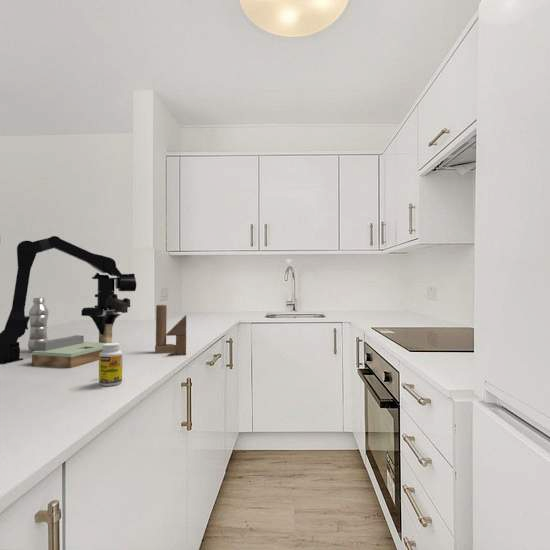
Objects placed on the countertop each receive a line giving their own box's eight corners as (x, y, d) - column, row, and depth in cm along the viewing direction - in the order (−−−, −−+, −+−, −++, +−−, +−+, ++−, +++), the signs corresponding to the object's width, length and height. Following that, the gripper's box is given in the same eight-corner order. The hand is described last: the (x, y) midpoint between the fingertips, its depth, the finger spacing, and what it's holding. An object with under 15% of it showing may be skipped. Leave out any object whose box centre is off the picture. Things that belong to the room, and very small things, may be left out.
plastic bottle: (43, 349, 149) (43, 297, 149) (51, 351, 145) (52, 298, 145) (24, 351, 144) (25, 298, 144) (32, 353, 140) (33, 298, 140)
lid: (32, 354, 116) (32, 343, 116) (80, 344, 135) (80, 334, 135) (71, 357, 113) (71, 345, 113) (115, 346, 132) (115, 336, 132)
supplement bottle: (96, 387, 96) (97, 346, 96) (101, 381, 101) (101, 342, 101) (120, 386, 97) (120, 345, 97) (123, 380, 102) (124, 341, 103)
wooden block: (186, 355, 139) (186, 305, 139) (154, 356, 136) (155, 305, 136) (185, 353, 142) (186, 304, 143) (155, 354, 140) (155, 304, 140)
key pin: (98, 349, 141) (99, 324, 141) (104, 347, 144) (104, 323, 144) (106, 349, 140) (106, 324, 140) (111, 348, 143) (112, 324, 144)
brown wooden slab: (31, 368, 116) (31, 355, 116) (80, 356, 135) (80, 344, 135) (71, 371, 113) (71, 357, 113) (114, 358, 132) (115, 346, 132)
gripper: (108, 292, 132) (107, 338, 131) (139, 291, 150) (139, 331, 149) (80, 292, 134) (79, 336, 134) (114, 291, 152) (114, 330, 152)
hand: (105, 333), depth 142 cm, fingers closed on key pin, 3 cm apart
